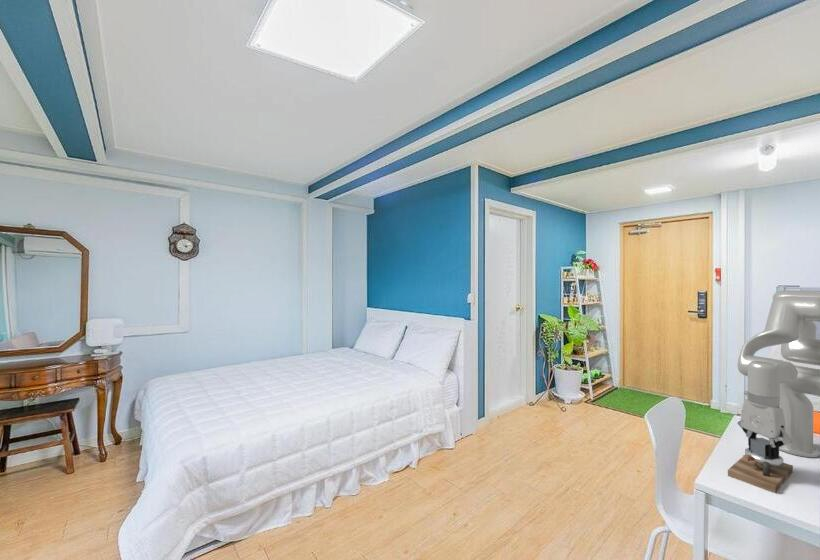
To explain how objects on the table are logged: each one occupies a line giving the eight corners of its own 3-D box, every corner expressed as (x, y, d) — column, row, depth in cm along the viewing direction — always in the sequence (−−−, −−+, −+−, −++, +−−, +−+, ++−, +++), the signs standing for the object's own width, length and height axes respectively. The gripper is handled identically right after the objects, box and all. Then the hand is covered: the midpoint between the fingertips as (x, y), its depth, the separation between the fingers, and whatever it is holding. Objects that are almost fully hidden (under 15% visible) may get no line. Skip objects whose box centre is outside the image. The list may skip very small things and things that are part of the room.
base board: (748, 457, 126) (748, 440, 126) (792, 471, 116) (793, 453, 116) (727, 475, 115) (727, 457, 114) (775, 493, 105) (775, 473, 105)
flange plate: (761, 451, 120) (761, 434, 120) (791, 465, 112) (791, 447, 111) (731, 453, 119) (731, 436, 119) (760, 467, 110) (760, 449, 110)
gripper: (726, 391, 123) (726, 443, 123) (787, 410, 106) (786, 469, 106) (743, 390, 124) (743, 440, 125) (805, 407, 108) (805, 466, 108)
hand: (763, 453), depth 116 cm, fingers closed on flange plate, 4 cm apart
